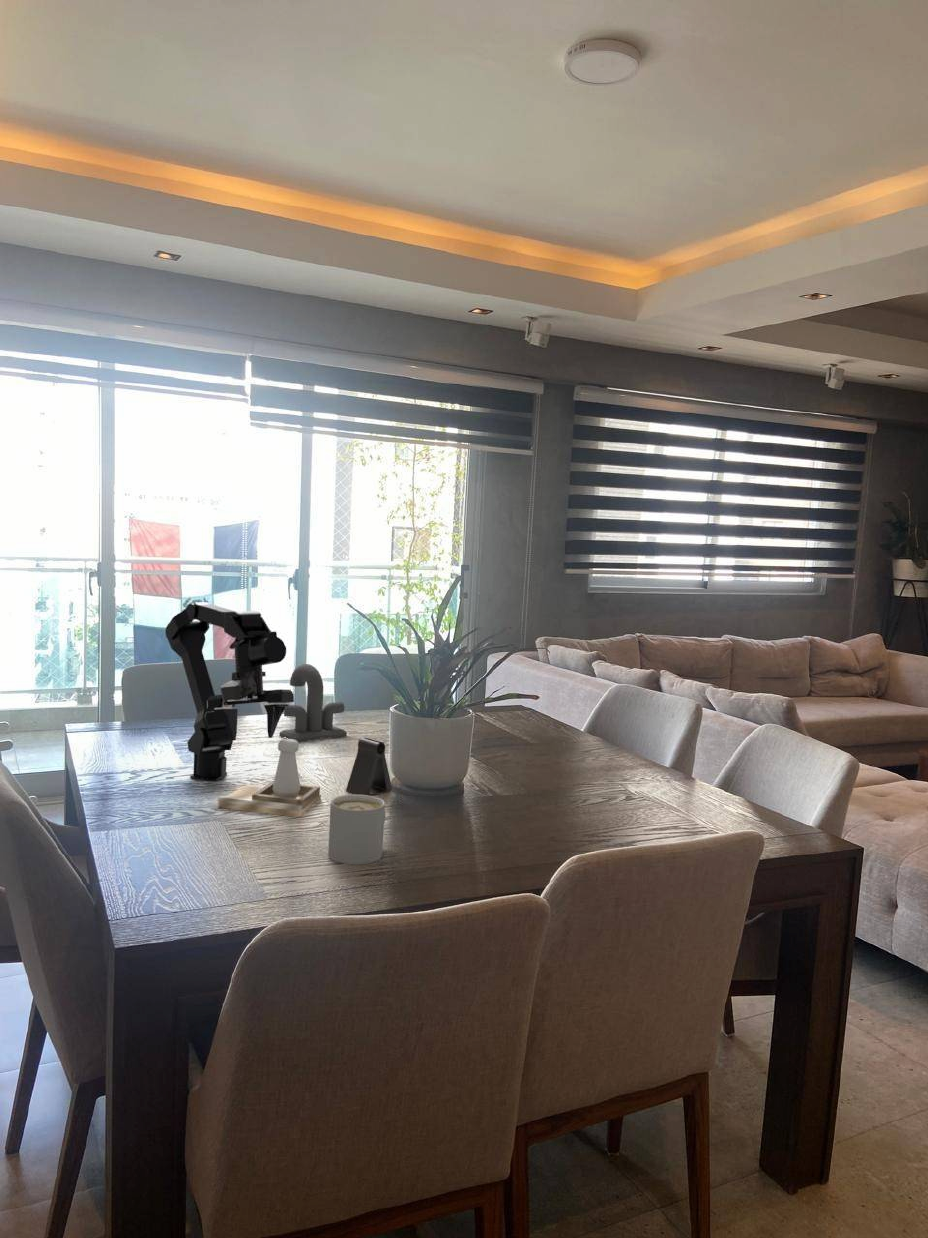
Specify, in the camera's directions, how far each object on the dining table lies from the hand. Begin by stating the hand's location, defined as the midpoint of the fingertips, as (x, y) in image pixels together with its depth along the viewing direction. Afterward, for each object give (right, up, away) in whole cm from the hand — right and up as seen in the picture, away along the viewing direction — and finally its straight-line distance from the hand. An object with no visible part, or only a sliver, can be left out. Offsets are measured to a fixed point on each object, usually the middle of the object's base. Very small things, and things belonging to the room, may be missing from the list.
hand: (251, 739), depth 204 cm
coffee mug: (+27, -18, -29) cm, 44 cm away
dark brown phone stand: (+24, -14, +11) cm, 30 cm away
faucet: (+1, -7, +65) cm, 65 cm away
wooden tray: (+5, -13, -3) cm, 15 cm away
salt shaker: (+8, -13, -3) cm, 15 cm away
